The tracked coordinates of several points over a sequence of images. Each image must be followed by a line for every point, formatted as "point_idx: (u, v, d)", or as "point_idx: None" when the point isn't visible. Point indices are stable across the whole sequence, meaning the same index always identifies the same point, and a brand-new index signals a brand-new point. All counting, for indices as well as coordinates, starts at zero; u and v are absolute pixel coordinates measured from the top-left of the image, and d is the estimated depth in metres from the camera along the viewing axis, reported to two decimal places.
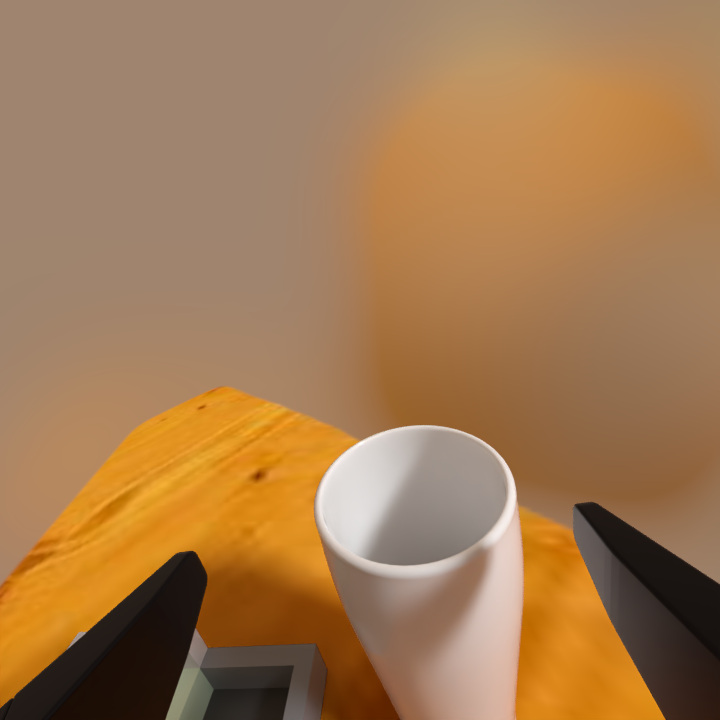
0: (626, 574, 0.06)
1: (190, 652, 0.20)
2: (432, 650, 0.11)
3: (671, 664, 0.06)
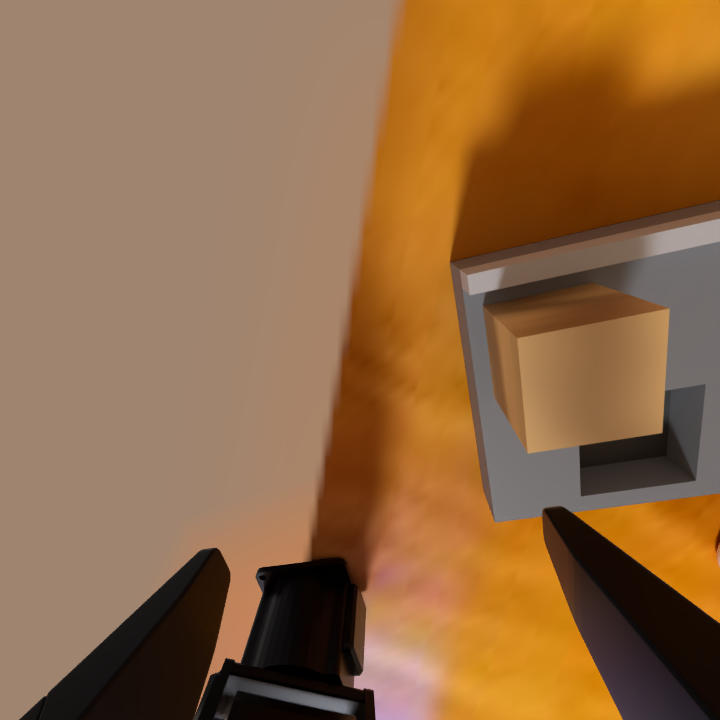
0: (586, 578, 0.06)
1: None
2: None
3: (625, 667, 0.06)
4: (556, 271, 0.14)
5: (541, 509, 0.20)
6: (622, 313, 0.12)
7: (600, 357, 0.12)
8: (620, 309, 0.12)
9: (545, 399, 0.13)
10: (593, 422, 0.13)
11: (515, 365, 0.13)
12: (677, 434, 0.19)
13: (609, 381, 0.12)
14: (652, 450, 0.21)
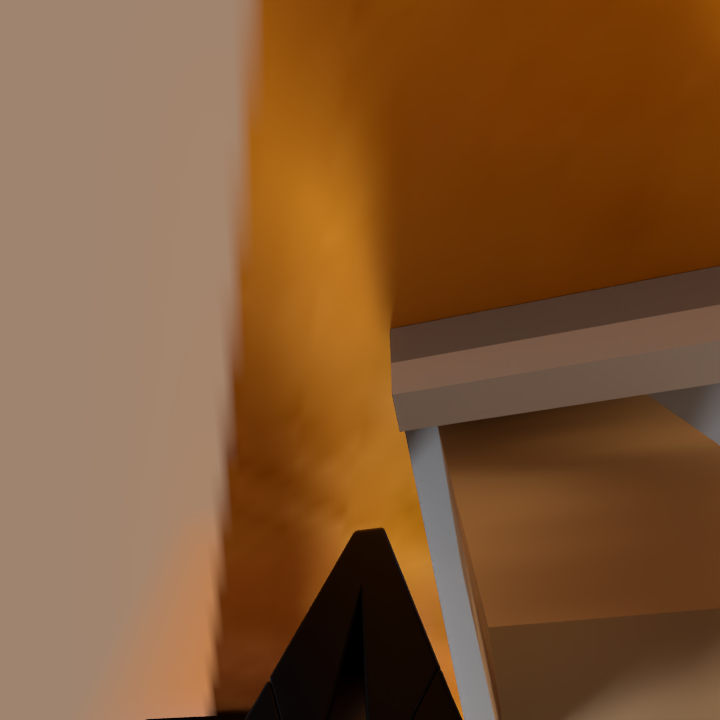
0: None
1: None
2: None
3: None
4: (580, 394, 0.07)
5: None
6: None
7: (705, 674, 0.05)
8: None
9: None
10: None
11: (487, 643, 0.05)
12: None
13: (719, 716, 0.05)
14: None
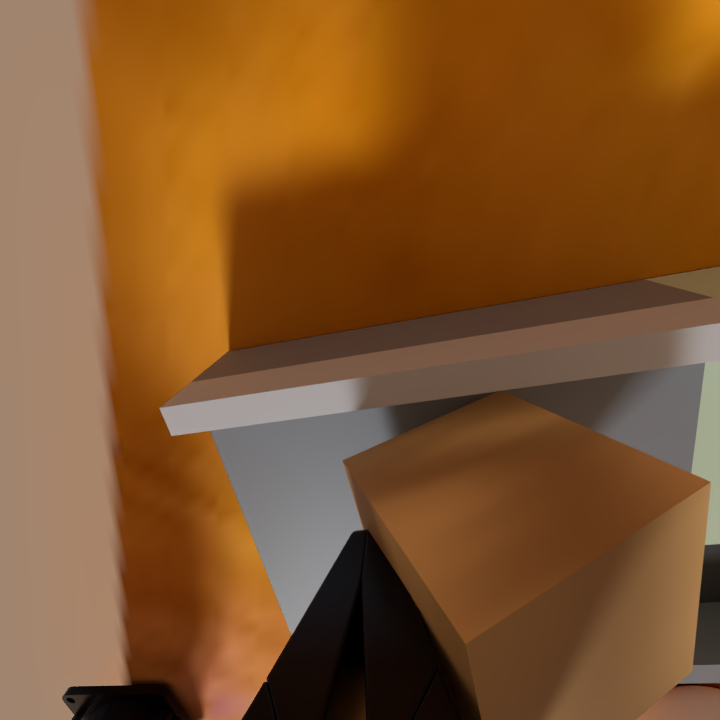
0: None
1: None
2: None
3: None
4: (292, 412, 0.09)
5: None
6: (633, 500, 0.06)
7: (617, 605, 0.05)
8: (615, 483, 0.06)
9: None
10: (607, 714, 0.06)
11: (454, 665, 0.05)
12: None
13: (630, 638, 0.06)
14: None
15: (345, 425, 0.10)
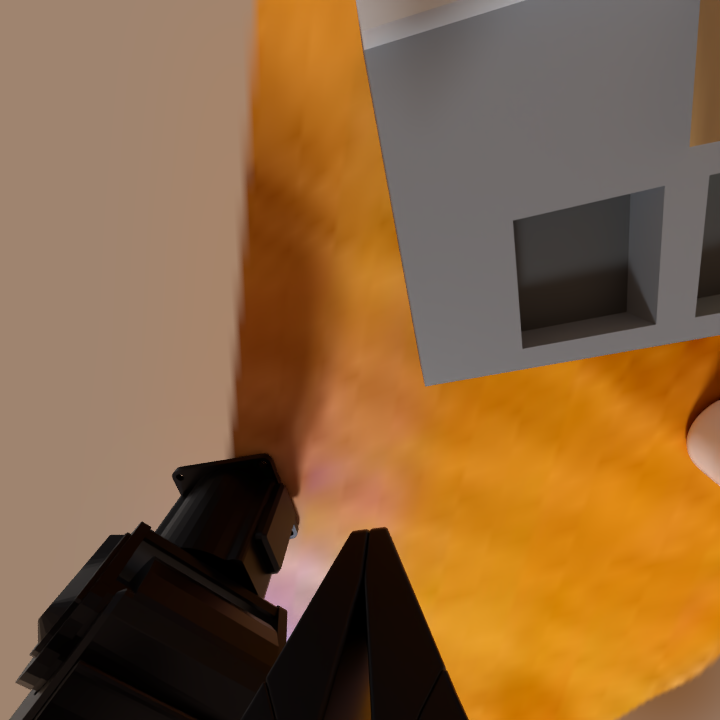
0: None
1: None
2: None
3: None
4: None
5: (477, 367, 0.17)
6: None
7: None
8: None
9: None
10: None
11: None
12: (637, 276, 0.16)
13: None
14: (610, 304, 0.18)
15: (486, 57, 0.13)
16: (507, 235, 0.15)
